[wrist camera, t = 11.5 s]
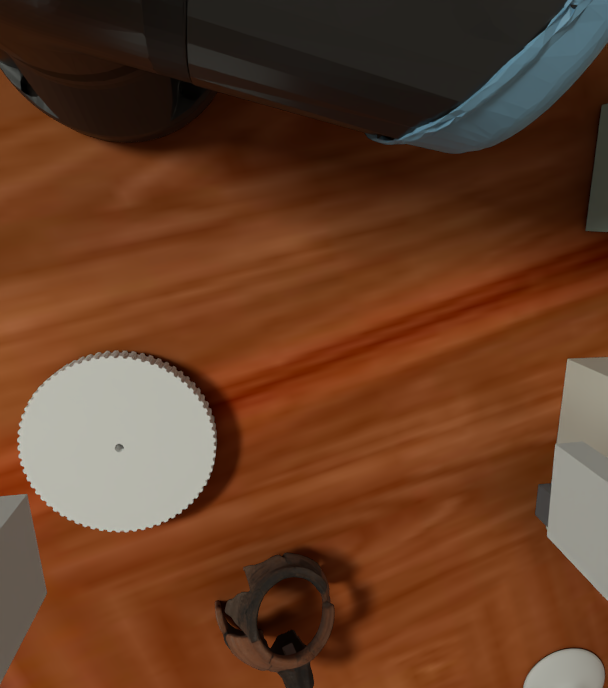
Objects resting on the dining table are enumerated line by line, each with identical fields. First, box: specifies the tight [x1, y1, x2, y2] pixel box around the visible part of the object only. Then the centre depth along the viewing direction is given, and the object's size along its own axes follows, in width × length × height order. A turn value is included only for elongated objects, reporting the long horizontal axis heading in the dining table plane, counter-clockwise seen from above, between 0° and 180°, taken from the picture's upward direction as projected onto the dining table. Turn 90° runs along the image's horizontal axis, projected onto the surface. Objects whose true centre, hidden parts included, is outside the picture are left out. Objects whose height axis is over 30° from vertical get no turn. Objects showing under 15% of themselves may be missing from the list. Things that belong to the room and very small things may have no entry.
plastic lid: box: [17, 350, 217, 532], centre depth 38 cm, size 14×14×2 cm
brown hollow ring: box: [215, 553, 334, 688], centre depth 42 cm, size 12×10×8 cm
